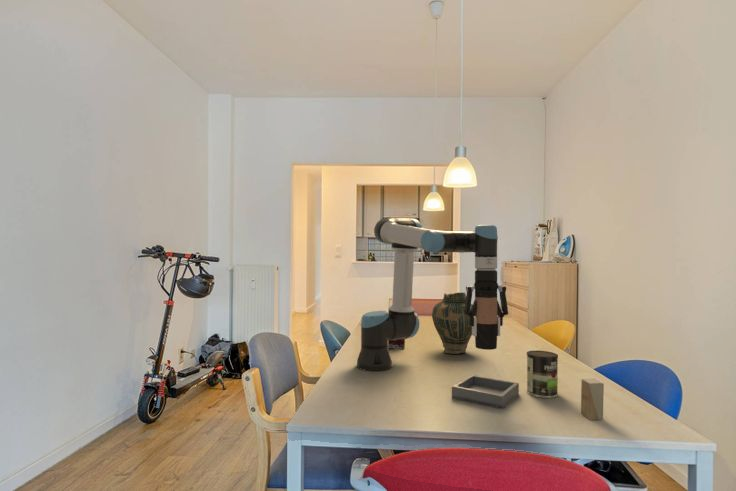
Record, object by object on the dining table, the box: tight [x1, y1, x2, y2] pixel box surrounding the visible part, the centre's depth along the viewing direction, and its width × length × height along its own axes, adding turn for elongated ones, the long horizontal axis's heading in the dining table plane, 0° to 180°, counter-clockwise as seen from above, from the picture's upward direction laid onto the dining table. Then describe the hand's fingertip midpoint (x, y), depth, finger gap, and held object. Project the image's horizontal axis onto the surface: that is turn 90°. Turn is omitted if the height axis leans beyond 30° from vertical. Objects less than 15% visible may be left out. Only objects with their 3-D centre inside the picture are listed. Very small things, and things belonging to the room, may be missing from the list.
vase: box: [431, 291, 473, 355], centre depth 216 cm, size 22×22×30 cm
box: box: [580, 378, 605, 421], centre depth 133 cm, size 5×4×11 cm
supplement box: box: [388, 339, 406, 350], centre depth 225 cm, size 9×5×16 cm, turn 84°
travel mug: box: [474, 289, 498, 351], centre depth 152 cm, size 8×8×20 cm
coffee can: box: [526, 350, 559, 399], centre depth 155 cm, size 10×10×14 cm
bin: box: [451, 374, 520, 410], centre depth 151 cm, size 17×17×4 cm
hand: (485, 335), depth 152 cm, fingers closed on travel mug, 8 cm apart
